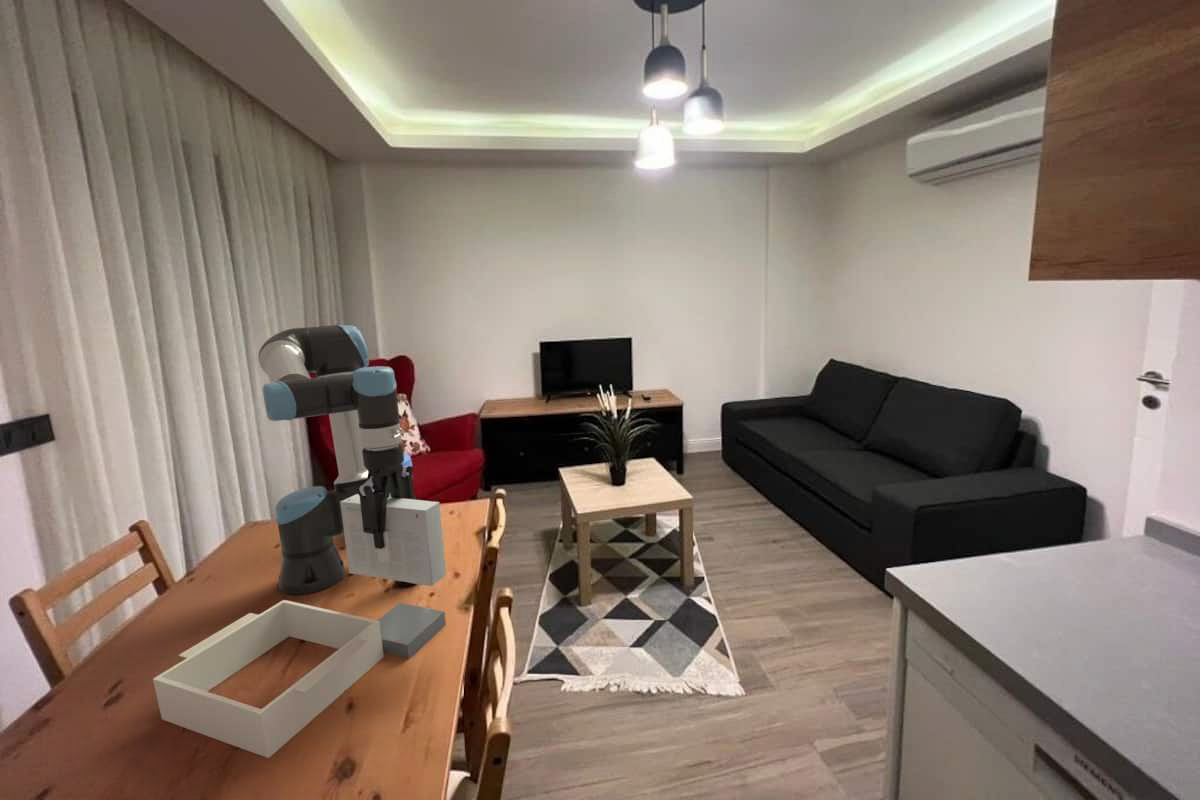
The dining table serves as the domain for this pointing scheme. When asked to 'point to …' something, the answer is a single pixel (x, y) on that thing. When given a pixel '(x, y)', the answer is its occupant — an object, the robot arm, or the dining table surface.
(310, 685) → the tray
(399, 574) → the skincare box
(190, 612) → the dining table surface
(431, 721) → the dining table surface
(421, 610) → the plate
